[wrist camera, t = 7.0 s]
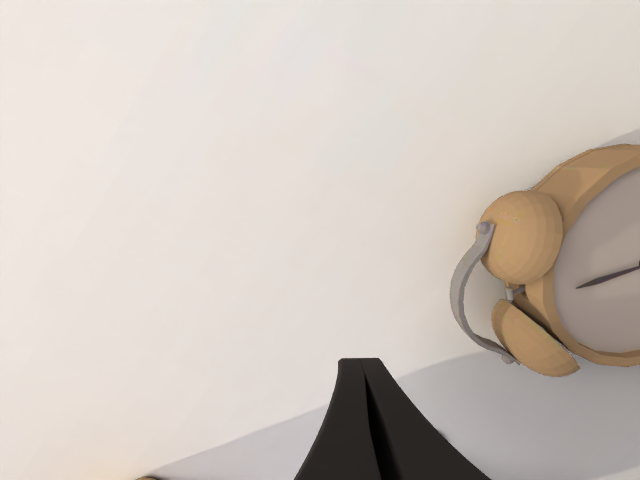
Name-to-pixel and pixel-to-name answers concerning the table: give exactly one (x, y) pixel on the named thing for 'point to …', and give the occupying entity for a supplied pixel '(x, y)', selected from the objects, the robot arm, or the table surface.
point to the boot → (146, 478)
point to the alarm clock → (564, 265)
